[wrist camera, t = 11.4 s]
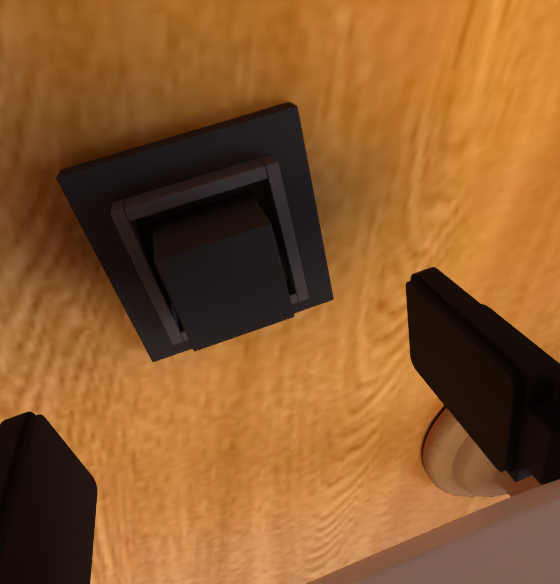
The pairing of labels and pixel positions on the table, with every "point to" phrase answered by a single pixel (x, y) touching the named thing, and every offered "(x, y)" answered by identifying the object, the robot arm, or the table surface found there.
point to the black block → (222, 270)
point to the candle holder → (465, 464)
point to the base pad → (192, 194)
